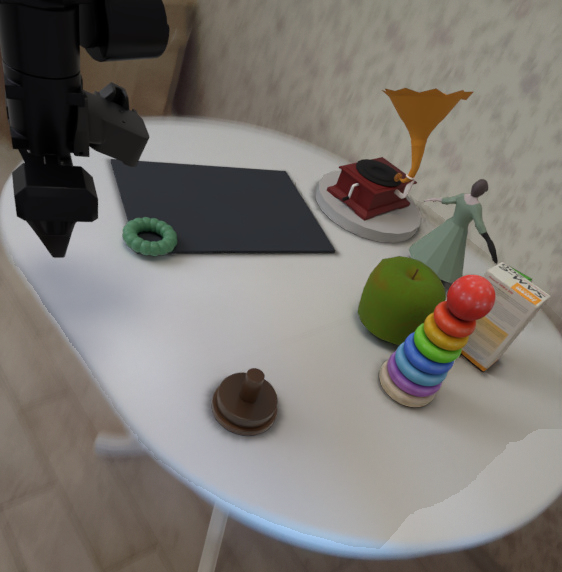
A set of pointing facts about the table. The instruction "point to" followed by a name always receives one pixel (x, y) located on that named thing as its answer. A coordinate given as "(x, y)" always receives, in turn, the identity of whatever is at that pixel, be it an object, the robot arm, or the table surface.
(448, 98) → the gramophone
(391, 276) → the apple
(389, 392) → the stacking toy
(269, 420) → the stand
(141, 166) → the mat
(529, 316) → the supplement box
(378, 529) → the table surface
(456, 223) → the character figurine
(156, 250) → the ring
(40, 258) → the table surface
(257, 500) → the table surface
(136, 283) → the table surface
